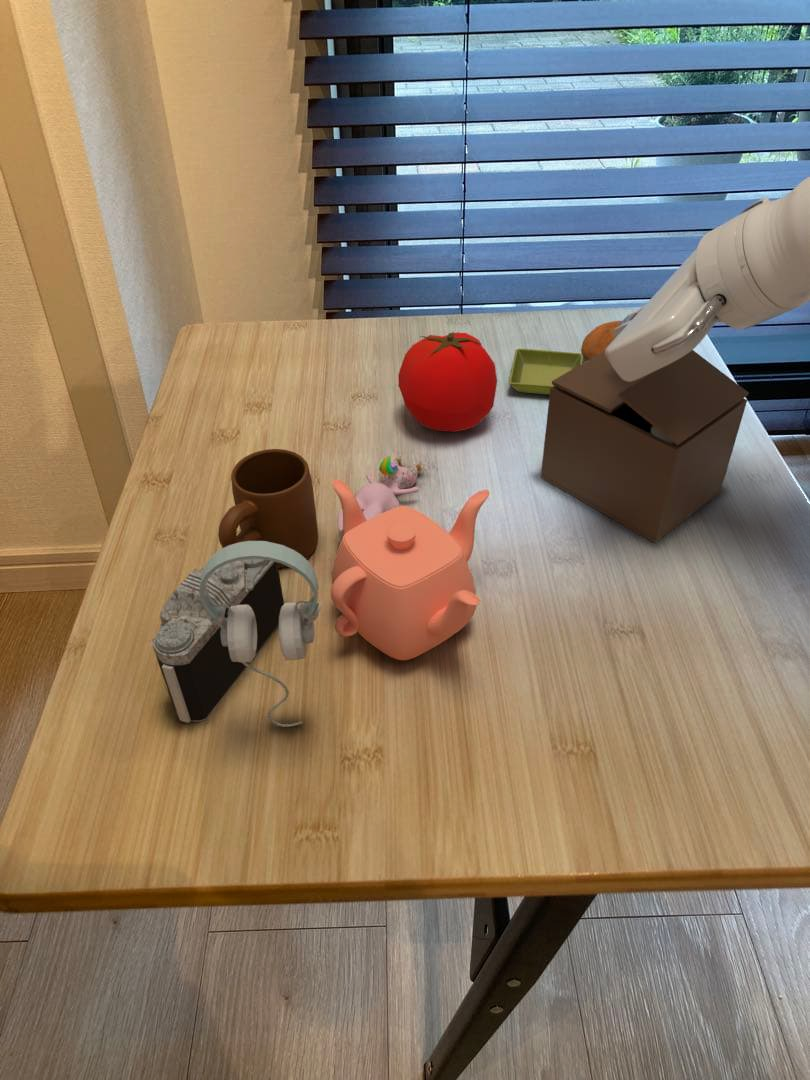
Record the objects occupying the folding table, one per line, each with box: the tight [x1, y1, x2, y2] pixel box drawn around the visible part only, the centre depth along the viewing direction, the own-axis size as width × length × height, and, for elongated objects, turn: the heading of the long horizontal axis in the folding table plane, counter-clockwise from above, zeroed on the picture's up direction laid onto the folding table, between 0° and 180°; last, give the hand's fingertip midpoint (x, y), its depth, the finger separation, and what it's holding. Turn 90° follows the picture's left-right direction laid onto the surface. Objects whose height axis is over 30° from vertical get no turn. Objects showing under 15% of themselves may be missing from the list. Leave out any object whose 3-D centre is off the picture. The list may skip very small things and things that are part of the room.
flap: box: [618, 349, 750, 445], centre depth 81 cm, size 7×12×1 cm, turn 133°
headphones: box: [199, 541, 322, 728], centre depth 63 cm, size 8×4×20 cm, turn 92°
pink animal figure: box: [336, 454, 424, 532], centre depth 88 cm, size 6×6×15 cm
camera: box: [151, 559, 285, 723], centre depth 72 cm, size 15×7×10 cm, turn 155°
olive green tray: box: [508, 348, 584, 396], centre depth 107 cm, size 9×9×2 cm
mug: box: [217, 448, 319, 568], centre depth 81 cm, size 12×8×9 cm, turn 153°
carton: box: [540, 351, 748, 544], centre depth 88 cm, size 15×12×12 cm
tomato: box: [397, 331, 498, 433], centre depth 98 cm, size 12×12×11 cm
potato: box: [580, 320, 623, 361], centre depth 107 cm, size 7×13×7 cm, turn 61°
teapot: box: [330, 478, 490, 661], centre depth 74 cm, size 14×14×11 cm
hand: (622, 331), depth 82 cm, fingers closed
